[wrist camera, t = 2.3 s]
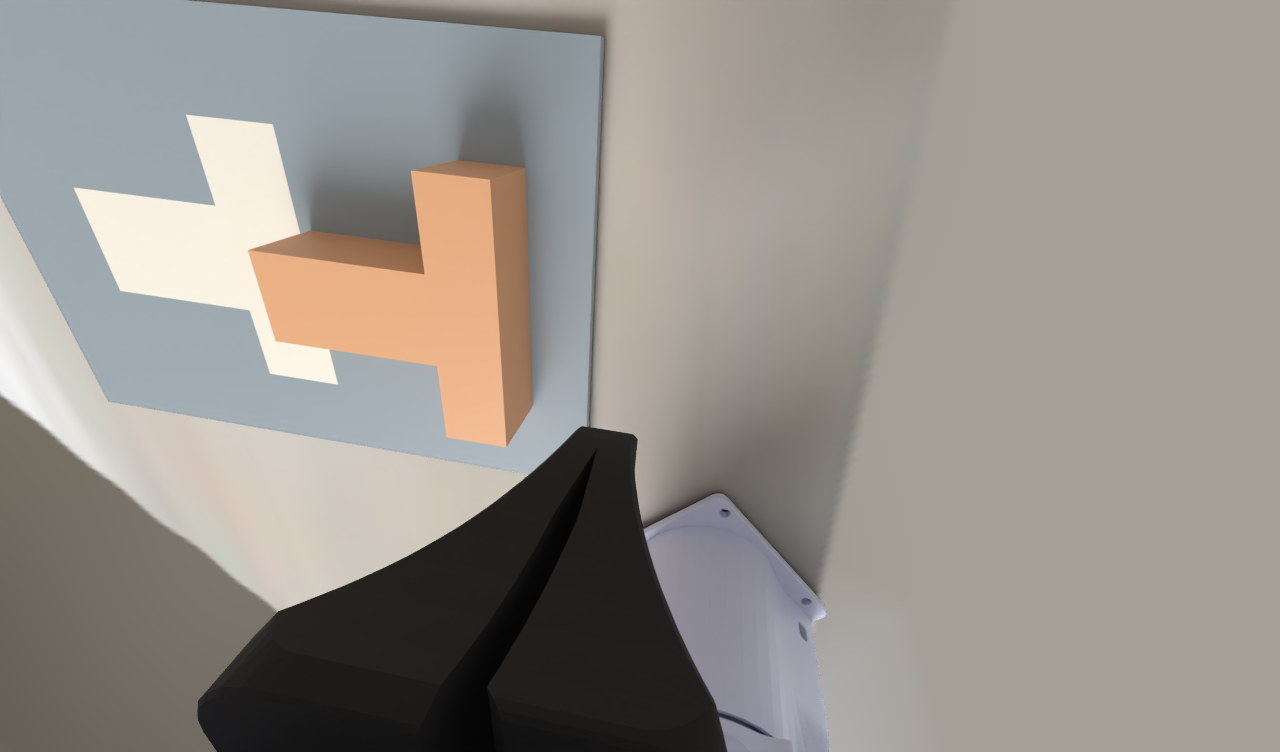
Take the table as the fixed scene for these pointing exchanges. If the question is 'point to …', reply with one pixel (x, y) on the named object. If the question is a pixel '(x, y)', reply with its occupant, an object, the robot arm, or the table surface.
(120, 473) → the table surface
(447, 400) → the t block
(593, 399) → the table surface
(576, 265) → the board
